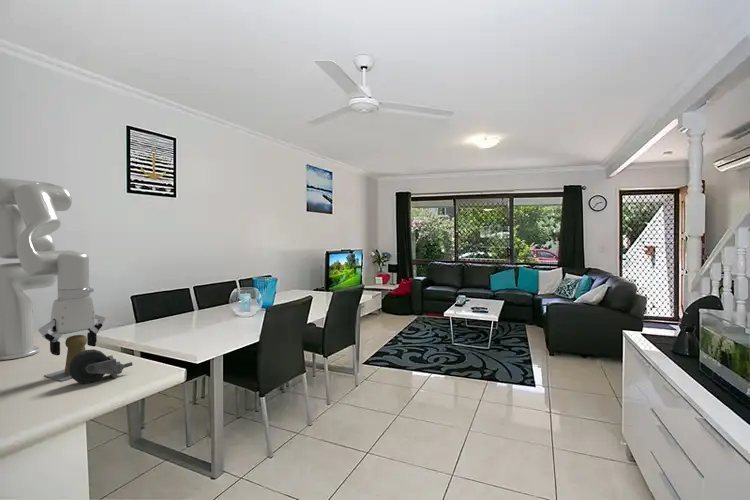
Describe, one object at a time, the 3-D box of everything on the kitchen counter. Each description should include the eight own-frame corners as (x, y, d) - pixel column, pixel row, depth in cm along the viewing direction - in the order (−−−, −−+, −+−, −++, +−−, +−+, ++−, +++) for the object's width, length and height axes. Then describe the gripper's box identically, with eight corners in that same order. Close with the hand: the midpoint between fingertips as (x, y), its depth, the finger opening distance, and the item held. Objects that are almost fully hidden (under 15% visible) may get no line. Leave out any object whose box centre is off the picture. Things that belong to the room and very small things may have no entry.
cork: (76, 375, 115) (75, 338, 114) (58, 374, 116) (57, 337, 115) (94, 368, 121) (93, 333, 120) (77, 367, 122) (76, 332, 121)
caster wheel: (73, 392, 107) (135, 373, 117) (68, 358, 105) (131, 342, 116) (70, 386, 111) (130, 368, 121) (65, 353, 109) (126, 338, 120)
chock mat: (44, 376, 115) (44, 375, 115) (85, 364, 125) (84, 364, 125) (61, 381, 111) (61, 380, 111) (102, 369, 121) (102, 368, 121)
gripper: (96, 289, 126) (97, 341, 127) (31, 296, 110) (32, 356, 111) (111, 291, 123) (111, 344, 124) (46, 299, 107) (47, 360, 108)
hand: (74, 350), depth 117 cm, fingers open, 9 cm apart
